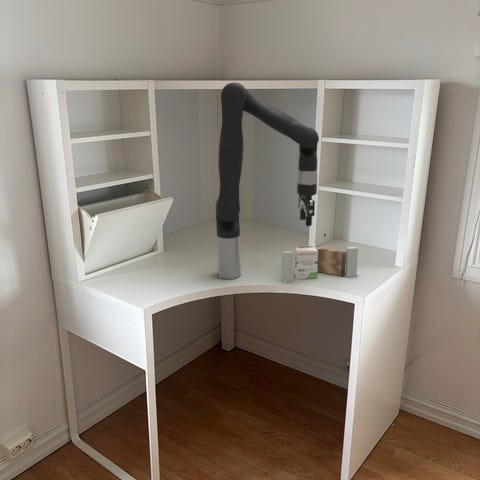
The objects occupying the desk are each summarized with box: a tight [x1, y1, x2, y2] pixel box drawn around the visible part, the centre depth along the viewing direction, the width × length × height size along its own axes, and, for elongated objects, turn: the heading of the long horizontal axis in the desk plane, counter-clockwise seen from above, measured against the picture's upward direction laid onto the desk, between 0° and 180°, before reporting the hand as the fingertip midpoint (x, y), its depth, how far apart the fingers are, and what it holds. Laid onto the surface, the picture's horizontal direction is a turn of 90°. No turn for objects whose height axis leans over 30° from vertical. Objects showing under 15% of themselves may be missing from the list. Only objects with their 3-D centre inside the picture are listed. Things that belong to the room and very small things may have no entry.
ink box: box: [293, 246, 318, 280], centre depth 197 cm, size 9×5×12 cm, turn 94°
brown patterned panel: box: [299, 244, 346, 277], centre depth 201 cm, size 20×2×10 cm, turn 61°
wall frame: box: [281, 246, 359, 283], centre depth 195 cm, size 30×2×12 cm, turn 99°
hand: (305, 222), depth 192 cm, fingers open, 8 cm apart
